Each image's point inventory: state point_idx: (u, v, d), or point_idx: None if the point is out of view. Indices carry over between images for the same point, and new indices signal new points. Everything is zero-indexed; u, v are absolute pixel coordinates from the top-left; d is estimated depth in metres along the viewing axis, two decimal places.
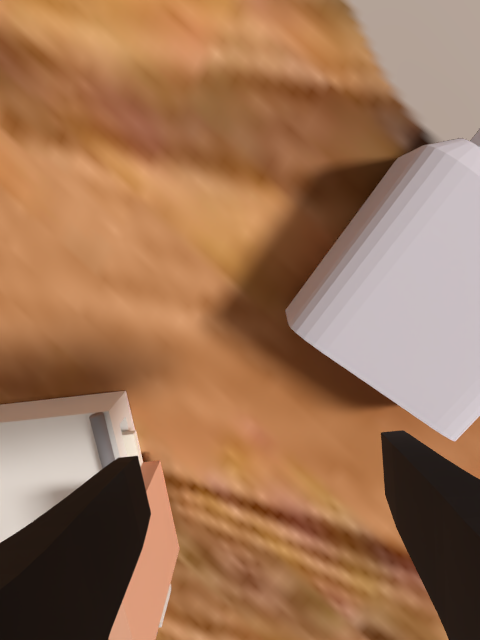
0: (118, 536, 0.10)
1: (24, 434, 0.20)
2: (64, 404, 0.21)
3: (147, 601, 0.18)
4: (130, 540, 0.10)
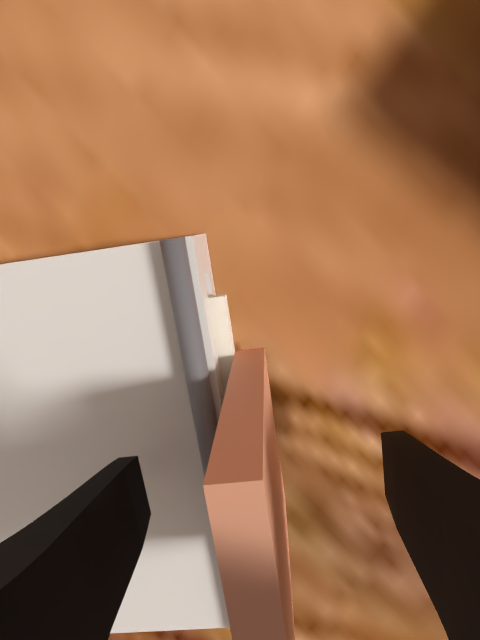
0: (118, 536, 0.10)
1: (39, 286, 0.12)
2: None
3: (285, 574, 0.09)
4: (130, 540, 0.10)
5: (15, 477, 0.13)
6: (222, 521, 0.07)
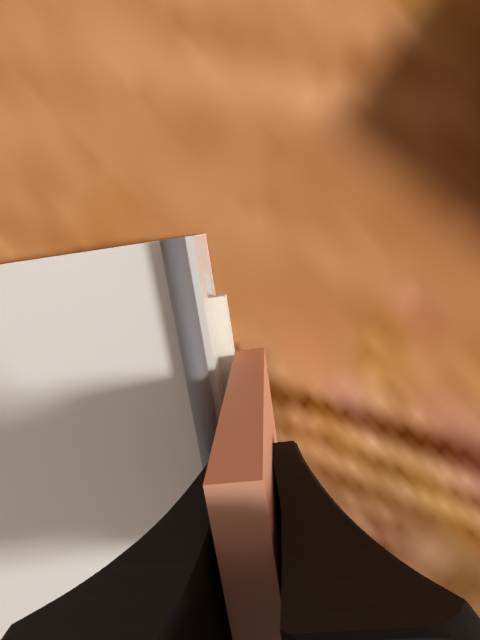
0: None
1: (39, 286, 0.12)
2: None
3: None
4: None
5: (15, 477, 0.13)
6: (222, 521, 0.07)
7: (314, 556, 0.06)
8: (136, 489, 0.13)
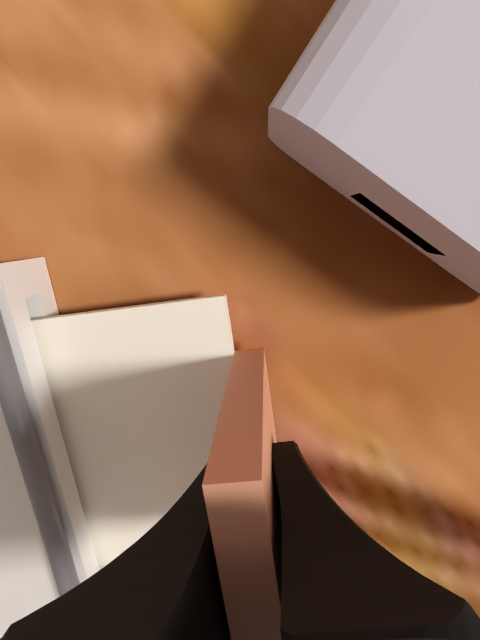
0: None
1: None
2: None
3: None
4: None
5: None
6: (221, 521, 0.07)
7: (314, 556, 0.06)
8: None
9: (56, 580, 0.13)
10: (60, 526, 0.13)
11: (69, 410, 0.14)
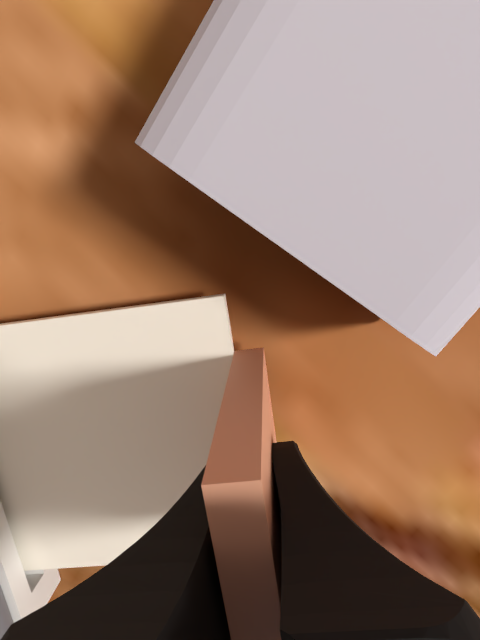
0: None
1: None
2: None
3: None
4: None
5: None
6: (220, 521, 0.07)
7: (315, 557, 0.06)
8: None
9: None
10: None
11: (69, 410, 0.14)
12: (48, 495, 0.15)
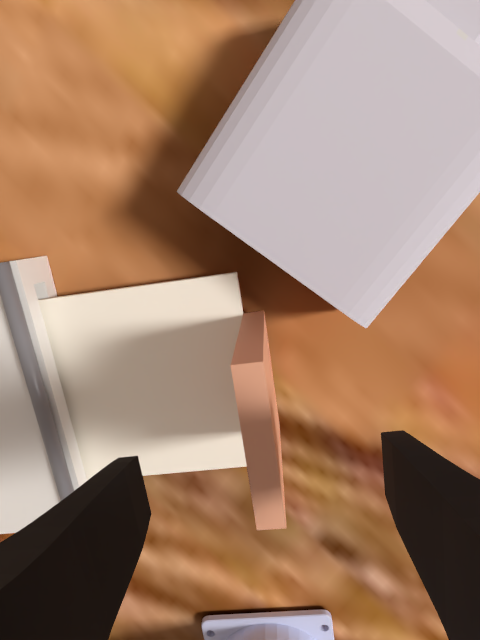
0: (118, 536, 0.10)
1: None
2: None
3: (277, 443, 0.15)
4: (130, 540, 0.10)
5: None
6: (240, 386, 0.12)
7: None
8: None
9: (56, 482, 0.19)
10: (59, 444, 0.19)
11: (124, 357, 0.19)
12: (106, 421, 0.20)
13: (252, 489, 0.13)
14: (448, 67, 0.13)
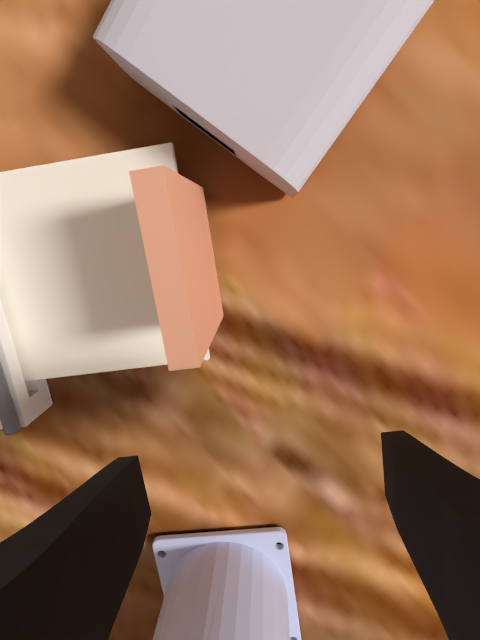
0: (118, 536, 0.10)
1: None
2: None
3: (198, 293, 0.14)
4: (130, 540, 0.10)
5: None
6: (141, 197, 0.11)
7: None
8: None
9: None
10: None
11: (58, 240, 0.18)
12: (42, 314, 0.19)
13: (161, 321, 0.12)
14: None
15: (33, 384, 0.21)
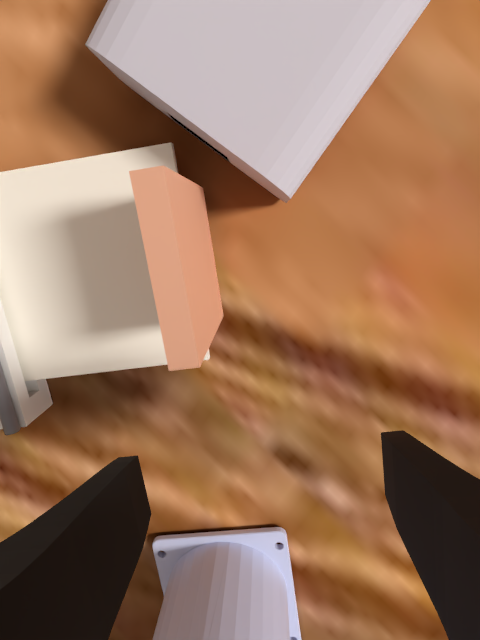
0: (118, 536, 0.10)
1: None
2: None
3: (198, 293, 0.14)
4: (130, 540, 0.10)
5: None
6: (141, 197, 0.11)
7: None
8: None
9: None
10: None
11: (58, 240, 0.18)
12: (42, 314, 0.19)
13: (161, 321, 0.12)
14: None
15: (33, 384, 0.21)
